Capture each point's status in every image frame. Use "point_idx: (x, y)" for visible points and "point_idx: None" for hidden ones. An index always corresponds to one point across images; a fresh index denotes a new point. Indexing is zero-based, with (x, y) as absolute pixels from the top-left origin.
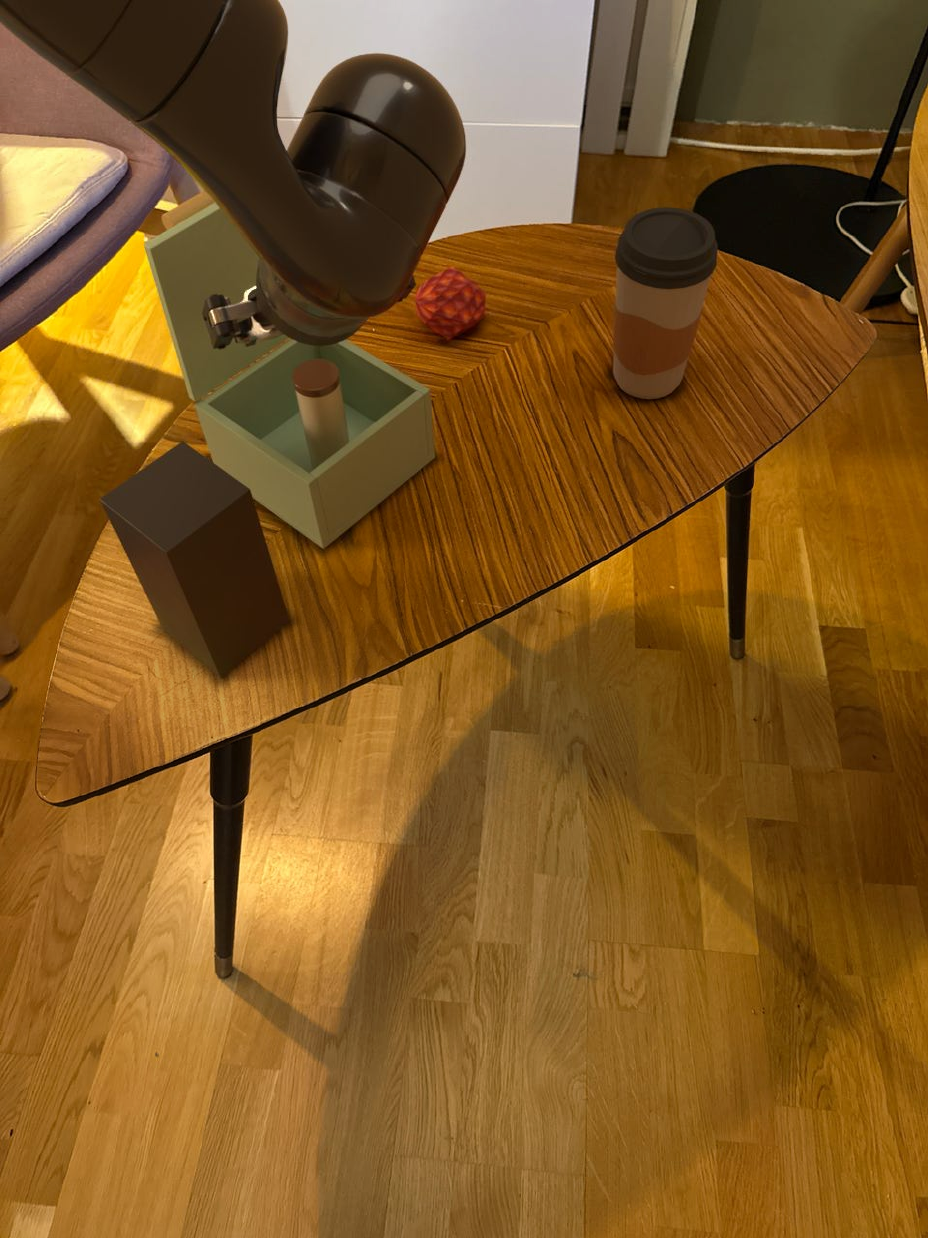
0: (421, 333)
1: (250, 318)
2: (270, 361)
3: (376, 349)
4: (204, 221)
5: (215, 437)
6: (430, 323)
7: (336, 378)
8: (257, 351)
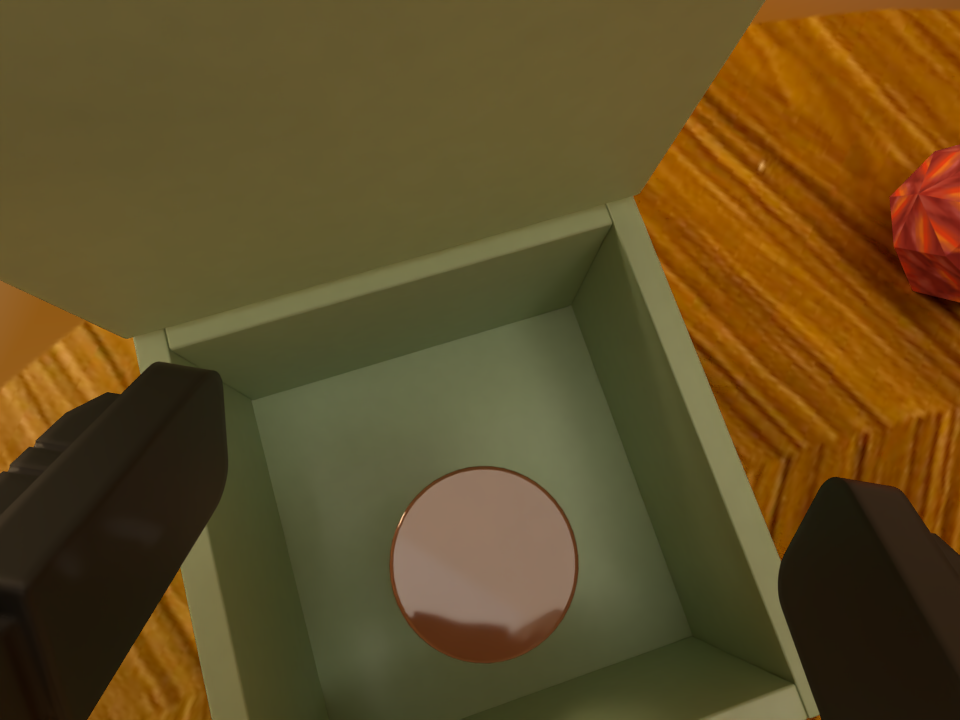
0: (860, 235)
1: (45, 647)
2: (429, 278)
3: (740, 227)
4: None
5: None
6: (908, 256)
7: (546, 636)
8: (392, 253)
